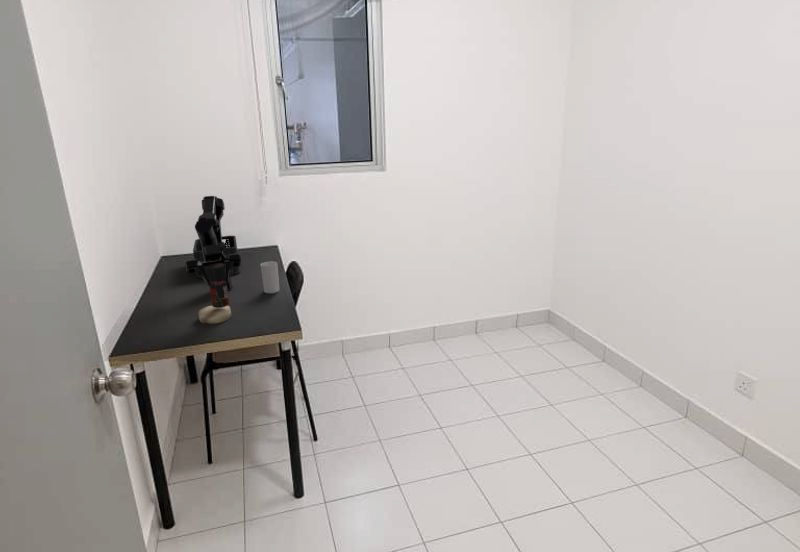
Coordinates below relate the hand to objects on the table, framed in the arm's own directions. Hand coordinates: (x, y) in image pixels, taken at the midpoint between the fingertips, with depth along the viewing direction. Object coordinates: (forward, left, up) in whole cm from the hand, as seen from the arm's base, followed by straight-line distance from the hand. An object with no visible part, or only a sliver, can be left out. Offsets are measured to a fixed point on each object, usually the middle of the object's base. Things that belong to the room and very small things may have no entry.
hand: (218, 283), depth 177 cm
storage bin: (-28, +61, -14) cm, 69 cm away
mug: (+9, +31, -13) cm, 34 cm away
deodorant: (-1, +1, -9) cm, 9 cm away
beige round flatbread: (-3, 0, -13) cm, 14 cm away
